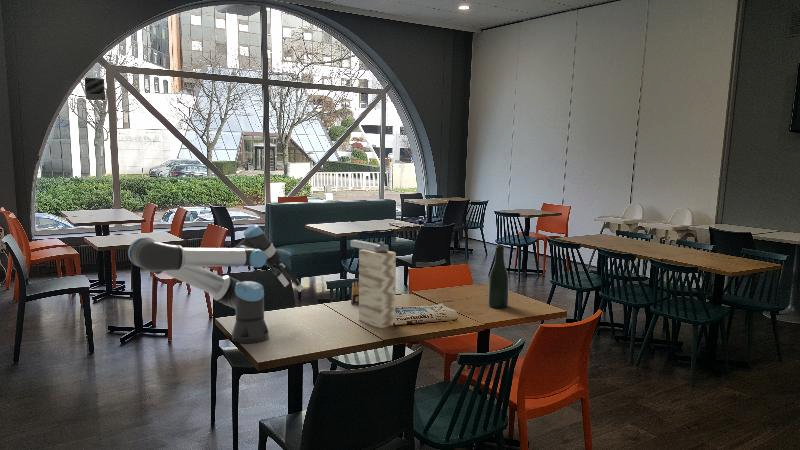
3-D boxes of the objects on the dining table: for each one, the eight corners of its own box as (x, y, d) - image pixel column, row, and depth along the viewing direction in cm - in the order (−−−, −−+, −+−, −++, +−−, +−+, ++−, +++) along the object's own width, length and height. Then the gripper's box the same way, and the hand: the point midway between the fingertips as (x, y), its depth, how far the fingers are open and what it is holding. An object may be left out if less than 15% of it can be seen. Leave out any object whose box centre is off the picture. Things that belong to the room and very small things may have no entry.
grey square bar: (380, 253, 250) (380, 243, 250) (347, 246, 269) (347, 237, 269) (391, 252, 254) (391, 242, 254) (358, 245, 273) (358, 236, 273)
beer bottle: (509, 309, 287) (511, 246, 283) (489, 308, 287) (491, 245, 283) (506, 303, 297) (508, 243, 294) (486, 303, 298) (488, 242, 294)
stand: (380, 328, 252) (380, 254, 248) (358, 320, 264) (359, 249, 260) (395, 324, 258) (395, 252, 254) (373, 317, 270) (374, 248, 266)
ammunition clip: (352, 304, 293) (352, 282, 292) (350, 303, 295) (350, 281, 294) (370, 302, 299) (370, 280, 297) (368, 301, 300) (368, 279, 299)
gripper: (288, 252, 246) (313, 286, 256) (262, 245, 265) (286, 277, 275) (276, 263, 242) (302, 297, 252) (251, 256, 261) (275, 288, 271)
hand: (294, 287), depth 263 cm, fingers open, 13 cm apart
